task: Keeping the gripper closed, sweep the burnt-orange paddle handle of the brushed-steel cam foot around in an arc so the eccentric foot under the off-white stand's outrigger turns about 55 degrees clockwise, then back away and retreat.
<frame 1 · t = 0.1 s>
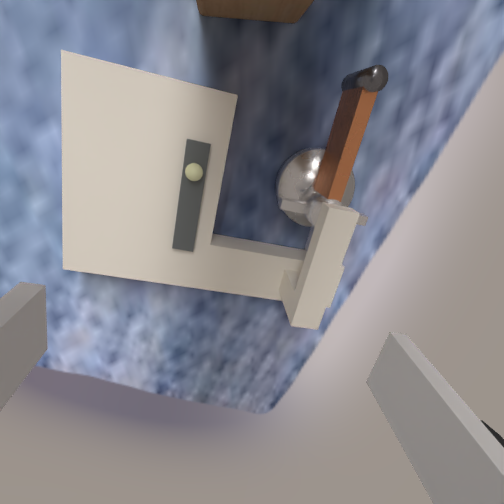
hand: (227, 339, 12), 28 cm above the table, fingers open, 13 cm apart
stand: (151, 182, 36), on the table
cam foot: (330, 167, 33), point 5 cm above the table, hinge at 0.0°
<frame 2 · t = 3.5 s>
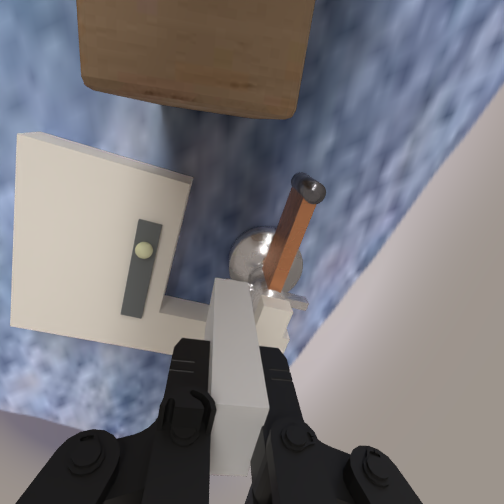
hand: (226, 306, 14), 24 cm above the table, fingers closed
stand: (106, 246, 37), on the table
cam foot: (276, 253, 35), point 5 cm above the table, hinge at 0.0°
wooden block: (212, 57, 31), on the table
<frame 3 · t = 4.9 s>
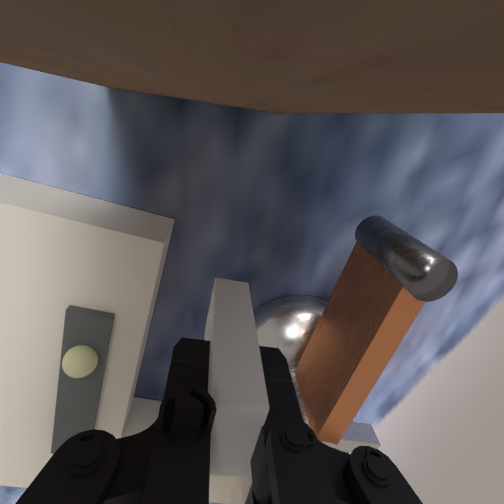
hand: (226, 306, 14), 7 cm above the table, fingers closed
stand: (30, 330, 22), on the table
cam foot: (323, 356, 19), point 5 cm above the table, hinge at 0.0°
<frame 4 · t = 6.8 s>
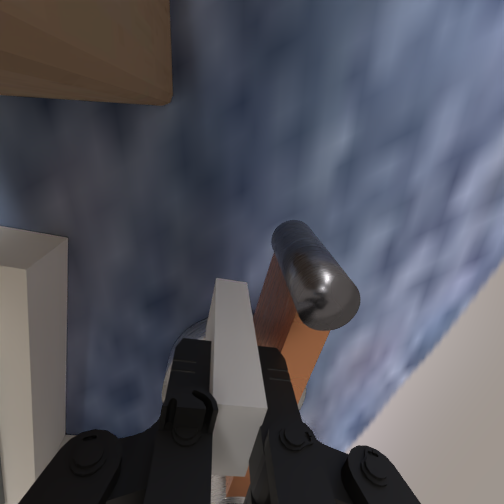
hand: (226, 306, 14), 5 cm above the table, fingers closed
cam foot: (249, 387, 16), point 5 cm above the table, hinge at -2.0°, touching gripper
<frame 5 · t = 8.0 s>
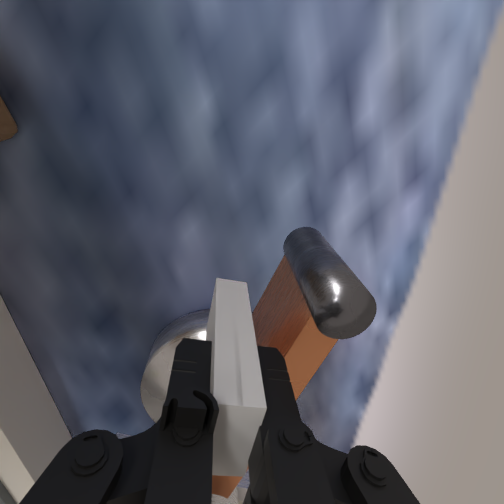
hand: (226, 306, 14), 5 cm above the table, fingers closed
cam foot: (235, 386, 16), point 5 cm above the table, hinge at -31.3°, touching gripper
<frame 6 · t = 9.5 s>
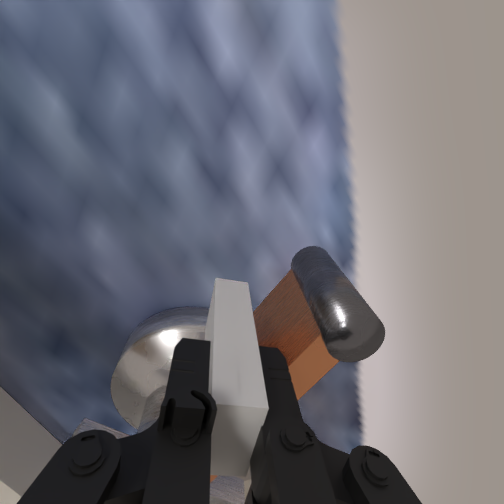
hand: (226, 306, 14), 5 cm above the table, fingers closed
cam foot: (214, 389, 16), point 5 cm above the table, hinge at -60.5°
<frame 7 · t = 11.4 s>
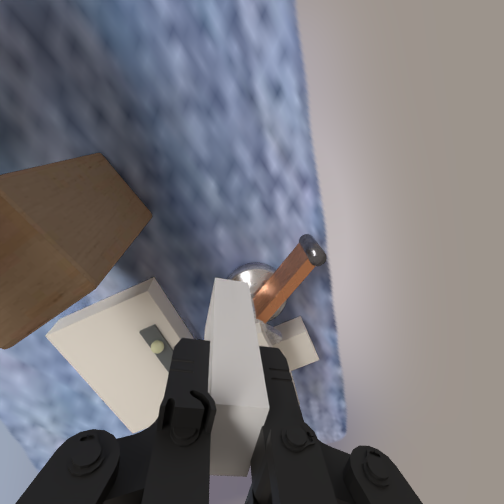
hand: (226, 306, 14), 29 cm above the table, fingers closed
stand: (145, 351, 50), on the table
cam foot: (269, 290, 42), point 5 cm above the table, hinge at -60.5°
wooden block: (100, 205, 41), on the table
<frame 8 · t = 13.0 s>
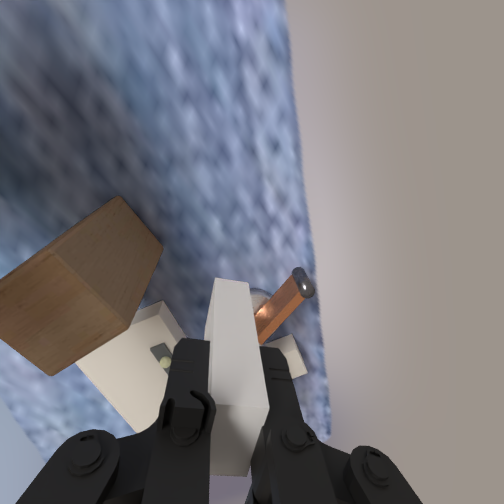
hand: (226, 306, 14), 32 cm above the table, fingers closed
stand: (153, 364, 55), on the table
cam foot: (265, 315, 48), point 5 cm above the table, hinge at -60.5°
wooden block: (117, 239, 46), on the table
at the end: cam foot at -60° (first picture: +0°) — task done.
